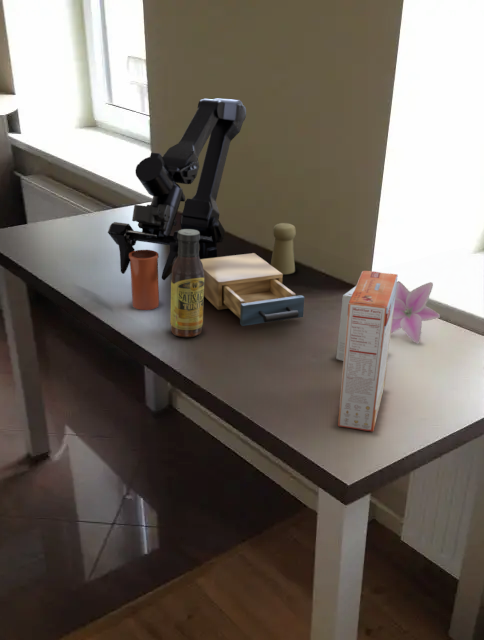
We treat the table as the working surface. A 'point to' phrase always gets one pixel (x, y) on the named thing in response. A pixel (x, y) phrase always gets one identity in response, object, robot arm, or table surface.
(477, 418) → the table surface
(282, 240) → the cork
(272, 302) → the drawer
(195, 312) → the sauce bottle
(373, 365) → the cracker box
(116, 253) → the table surface
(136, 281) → the cup
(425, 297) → the lily
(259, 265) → the cabinet
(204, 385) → the table surface
